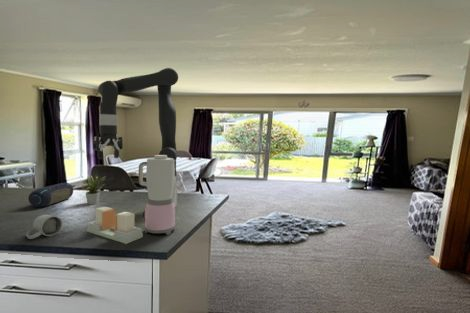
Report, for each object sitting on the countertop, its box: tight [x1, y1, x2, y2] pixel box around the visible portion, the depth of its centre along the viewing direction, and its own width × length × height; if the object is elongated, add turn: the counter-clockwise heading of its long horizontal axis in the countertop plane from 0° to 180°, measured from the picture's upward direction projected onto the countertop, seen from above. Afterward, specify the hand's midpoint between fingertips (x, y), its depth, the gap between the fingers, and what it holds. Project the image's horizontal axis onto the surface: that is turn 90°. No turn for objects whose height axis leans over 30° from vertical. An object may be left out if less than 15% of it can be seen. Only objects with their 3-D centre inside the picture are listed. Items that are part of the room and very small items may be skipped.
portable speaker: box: [28, 182, 74, 208], centre depth 151 cm, size 25×10×10 cm, turn 175°
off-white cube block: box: [95, 206, 116, 230], centre depth 111 cm, size 6×6×8 cm
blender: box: [138, 154, 176, 236], centre depth 113 cm, size 16×12×32 cm
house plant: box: [79, 175, 105, 206], centre depth 152 cm, size 14×14×16 cm
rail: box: [86, 211, 144, 245], centre depth 108 cm, size 8×23×10 cm, turn 62°
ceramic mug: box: [25, 214, 63, 240], centre depth 105 cm, size 11×8×8 cm
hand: (108, 158), depth 129 cm, fingers open, 8 cm apart
